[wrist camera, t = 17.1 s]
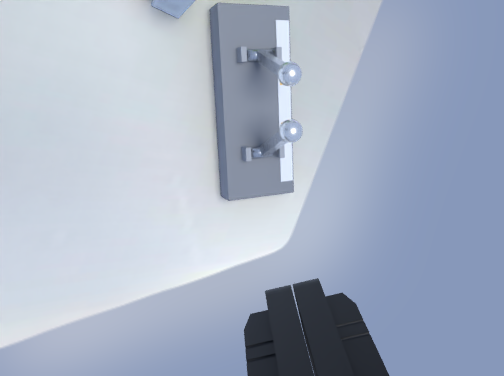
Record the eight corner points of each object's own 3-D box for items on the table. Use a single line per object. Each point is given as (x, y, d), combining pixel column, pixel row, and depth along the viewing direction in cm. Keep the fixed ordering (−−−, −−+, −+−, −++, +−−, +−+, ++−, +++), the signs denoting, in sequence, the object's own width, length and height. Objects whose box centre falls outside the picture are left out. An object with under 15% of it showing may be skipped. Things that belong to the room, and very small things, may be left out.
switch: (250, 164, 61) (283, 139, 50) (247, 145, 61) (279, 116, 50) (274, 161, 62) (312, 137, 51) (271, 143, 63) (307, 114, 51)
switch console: (220, 195, 65) (233, 203, 60) (209, 9, 60) (221, -1, 54) (282, 188, 69) (299, 194, 64) (277, 12, 63) (295, 3, 58)
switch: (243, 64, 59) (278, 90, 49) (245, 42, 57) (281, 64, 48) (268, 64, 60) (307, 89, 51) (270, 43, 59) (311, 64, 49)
